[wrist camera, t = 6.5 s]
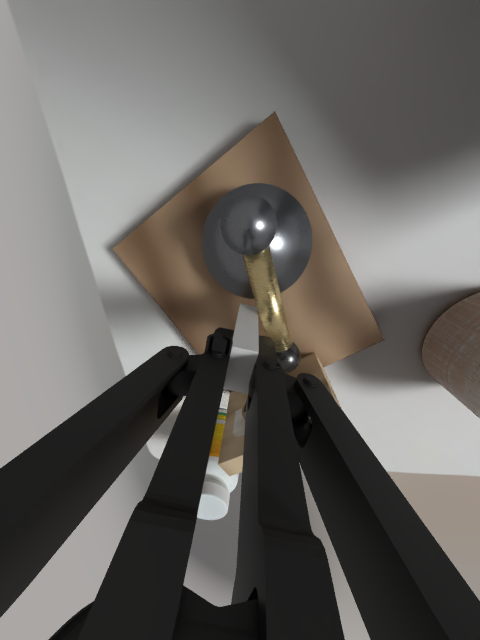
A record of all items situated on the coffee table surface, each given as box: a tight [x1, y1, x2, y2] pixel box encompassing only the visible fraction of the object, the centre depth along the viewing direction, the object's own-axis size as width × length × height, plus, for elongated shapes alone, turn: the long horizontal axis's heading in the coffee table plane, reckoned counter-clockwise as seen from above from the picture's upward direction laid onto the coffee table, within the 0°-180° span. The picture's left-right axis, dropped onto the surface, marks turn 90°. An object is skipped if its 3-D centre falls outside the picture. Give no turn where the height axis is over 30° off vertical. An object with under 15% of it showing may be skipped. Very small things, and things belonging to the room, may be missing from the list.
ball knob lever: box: [202, 183, 312, 373], centre depth 17 cm, size 13×8×6 cm, turn 17°
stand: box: [113, 112, 384, 476], centre depth 17 cm, size 16×20×10 cm
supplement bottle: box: [197, 409, 239, 520], centre depth 25 cm, size 5×5×10 cm
